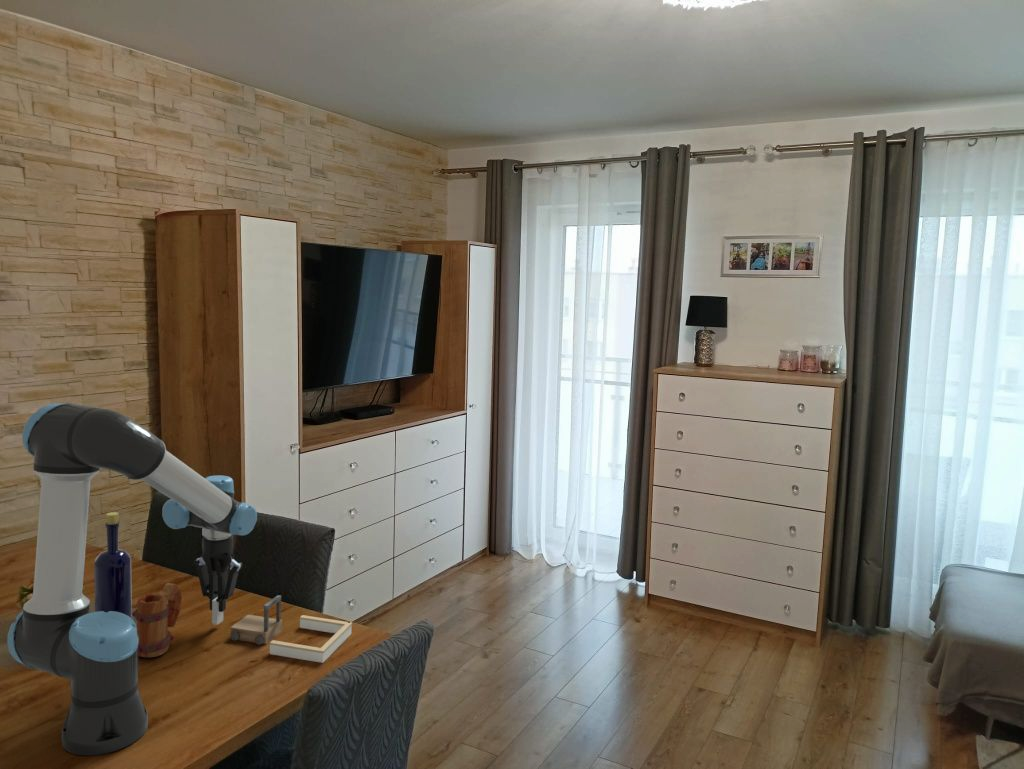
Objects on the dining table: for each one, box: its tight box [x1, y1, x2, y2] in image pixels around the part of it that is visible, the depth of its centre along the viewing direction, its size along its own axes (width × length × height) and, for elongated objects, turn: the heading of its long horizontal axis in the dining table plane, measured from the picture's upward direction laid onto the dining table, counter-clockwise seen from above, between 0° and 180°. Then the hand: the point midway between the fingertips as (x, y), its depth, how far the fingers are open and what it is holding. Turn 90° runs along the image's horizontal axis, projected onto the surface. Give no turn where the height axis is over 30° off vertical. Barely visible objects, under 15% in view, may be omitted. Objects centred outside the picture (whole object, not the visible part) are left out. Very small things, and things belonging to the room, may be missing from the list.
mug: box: [132, 582, 182, 658], centre depth 183 cm, size 15×8×15 cm, turn 168°
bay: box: [269, 614, 353, 664], centre depth 190 cm, size 17×14×3 cm
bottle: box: [93, 511, 133, 619], centre depth 193 cm, size 9×9×30 cm
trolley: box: [230, 595, 283, 646], centre depth 193 cm, size 10×10×10 cm
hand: (217, 622), depth 196 cm, fingers closed
